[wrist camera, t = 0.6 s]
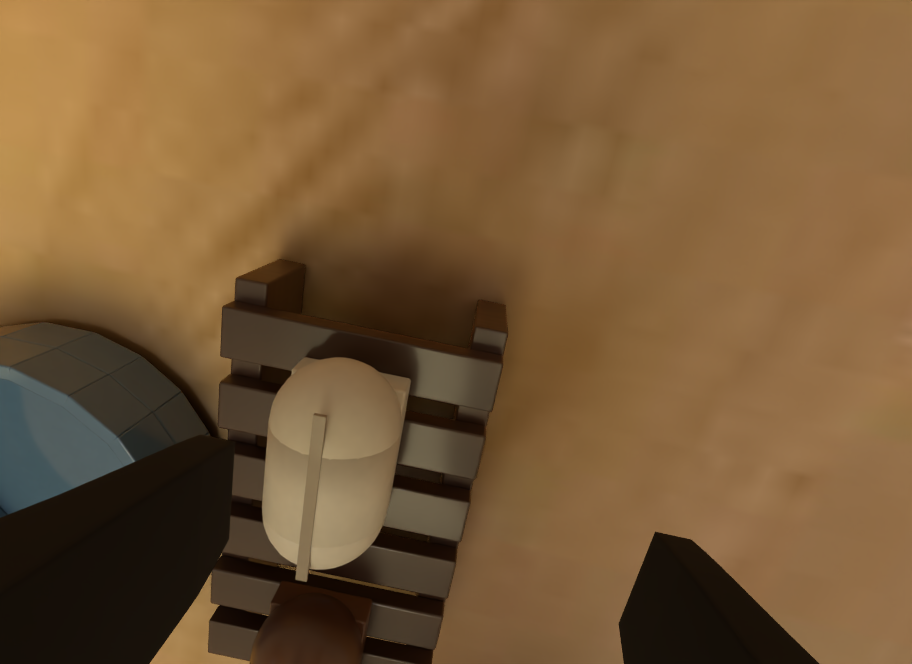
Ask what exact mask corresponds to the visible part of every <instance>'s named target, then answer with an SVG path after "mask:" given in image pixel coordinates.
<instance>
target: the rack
mask: <svg viewBox="0 0 912 664" xmlns="http://www.w3.org/2000/svg"><path fill="white" fill-rule="evenodd" d="M304 276H305V265H304V264H301V263H296V262H291V261H286V260H281V259H279V260H276V261H274V262H272V263H269V264H267V265H265V266H262V267H260V268H258V269H255V270H253V271H251V272H248V273H246V274H244V275H241V276H239V277H237V278H236V283H235V301H232V302H230V303H228V304H226V305H224V306H223V307H222V327H221V352H220V356H221V357H225V358H230V359H232V364H231V374H230V375H228V376H227V377H226V378H224V379H223V380H222V381H221V382H220V384H219V408H218V427H220V428H225V429H228V441H233V442H235V455H234V470H233V485H232V501H231V516H230V532H229V540H228V542H227V544H226V546H225V548H224V550H223V551H222V556H221V557H220V558H219V560H218V561H217V562H216V564H215V566H214V568H213V570H212V578H211V603H213V604H218V605H220V606H218V608H217V609H216V611H215V613H214V614H213V616H212V617H211V619H210V621H209V641H208V652H209V653H213V654H218V655H223V656H227V657H232V658H237V659H242V660H246V661H250V656H251V652H252V647H253V643H254V641H255V638H256V635H257V633H258V631H259V630H260V628H261V626H262V624H263V623H264V621H265V620H266V619H267V617H268V616H266V615H269V613H270V603H271V601H272V599H273V597H274V595H275V593H276V591H277V589H278V587H279V585H280V583H281V582H282V581H288V582H293V583H298V584H302V585H307V586H312V587H317V588H321V589H326V590H331V591H336V592H341V593H345V594H350V595H355V596H360V597H364V598H369V599H372V606H371V611H370V617H369V623H368V628H367V634H366V636H370V637H366V640H365V646H364V651H363V657H362V663H361V664H432V658H433V650H434V649H435V648H436V645H437V641H438V637H439V633H440V628H441V624H442V620H443V614H444V603H445V599H446V598H448V595H449V591H450V587H451V582H452V578H453V574H454V570H455V566H456V559H457V548H458V544H459V542H461V540H462V536H463V532H464V528H465V524H466V519H467V515H468V511H469V507H470V501H471V489H472V485H473V481H474V480H475V479H476V477H477V473H478V469H479V465H480V460H481V456H482V452H483V448H484V444H485V439H486V426H487V421H488V417H489V413H490V412H492V410H493V406H494V402H495V398H496V394H497V389H498V385H499V381H500V377H501V373H502V368H503V354H504V350H505V345H506V341H507V337H508V327H507V315H506V305H504V304H499V303H494V302H489V301H484V300H478V303H477V308H476V313H475V317H474V322H473V327H472V332H471V336H470V341H469V346H468V348H463V347H458V346H454V345H449V344H444V343H439V342H434V341H429V340H424V339H419V338H414V337H409V336H405V335H400V334H395V333H390V332H385V331H380V330H375V329H370V328H365V327H360V326H356V325H351V324H346V323H341V322H336V321H331V320H326V319H321V318H316V317H311V316H307V315H302V314H301V308H302V297H303V286H304ZM304 357H307V358H312V359H317V360H322V359H327V358H335V357H342V358H350V359H354V360H358V361H360V362H363V363H365V364H367V365H369V366H371V367H373V368H374V369H376V370H377V371H378V372H381V373H385V374H390V375H395V376H400V377H405V378H409V379H410V380H411V384H410V390H409V395H410V396H415V397H420V398H425V399H429V400H434V401H439V402H444V403H449V404H454V405H456V407H455V412H454V417H453V420H452V419H448V418H443V417H438V416H433V415H428V414H423V413H418V412H414V411H409V410H406V412H405V418H404V424H403V429H402V435H401V441H400V446H399V452H398V458H397V463H396V464H399V465H404V466H409V467H414V468H418V469H423V470H428V471H433V472H438V473H442V474H441V478H440V483H434V482H429V481H424V480H419V479H415V478H410V477H405V476H400V475H394V480H393V486H392V492H391V498H390V503H389V506H388V509H387V513H386V517H385V520H384V524H383V526H384V527H389V528H394V529H398V530H403V531H408V532H413V533H418V534H423V535H427V536H428V540H427V542H424V541H419V540H415V539H410V538H405V537H400V536H395V535H391V534H386V533H381V532H379V534H378V536H377V537H376V539H375V541H374V542H373V543H372V544H371V545H370V547H369V548H368V549H367V550H366V551H365V552H364V553H362V554H361V555H360V556H359V557H357V558H356V559H354V560H352V561H350V562H349V563H346V564H344V565H342V566H339V567H336V568H331V569H324V570H315V569H309V570H311V571H316V572H321V573H326V574H331V575H335V576H340V577H345V578H350V579H355V580H359V581H364V582H369V583H374V584H378V585H383V586H388V587H393V588H398V589H402V590H407V591H412V592H416V596H414V595H409V594H404V593H399V592H394V591H390V590H385V589H380V588H375V587H371V586H366V585H361V584H356V583H351V582H347V581H342V580H337V579H332V578H327V577H323V576H318V575H313V574H308V580H307V582H304V581H299V580H295V577H296V571H294V570H289V569H284V568H280V567H277V563H278V564H283V565H288V566H292V567H297V565H296V564H294V563H292V562H290V561H289V560H287V559H286V558H284V557H283V556H282V555H281V554H279V552H278V551H277V550H276V549H275V547H274V546H273V545H272V543H271V542H270V540H269V538H268V536H267V534H266V531H265V528H264V525H263V517H262V499H263V486H264V473H265V460H266V448H267V435H268V422H269V417H270V412H271V407H272V403H273V401H274V399H275V397H276V395H277V393H278V391H279V390H280V388H281V387H282V386H283V384H284V383H285V382H286V380H287V379H288V378H289V377H290V376H291V373H292V369H293V368H294V367H295V366H296V365H297V364H298V363H299V362H300V361H301V360H302V359H303V358H304ZM262 614H265V615H262ZM371 637H375V638H371ZM376 638H380V639H376ZM381 639H384V640H381ZM385 640H389V641H385ZM390 641H394V642H390ZM395 642H399V643H395ZM400 643H403V644H400ZM404 644H406V645H404Z"/></svg>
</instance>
